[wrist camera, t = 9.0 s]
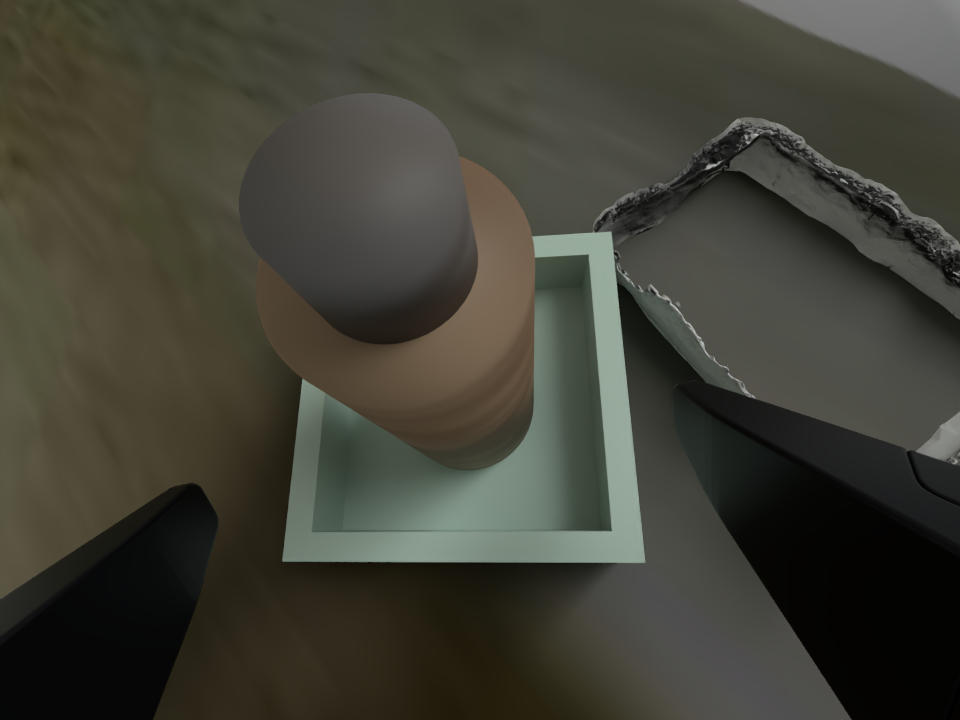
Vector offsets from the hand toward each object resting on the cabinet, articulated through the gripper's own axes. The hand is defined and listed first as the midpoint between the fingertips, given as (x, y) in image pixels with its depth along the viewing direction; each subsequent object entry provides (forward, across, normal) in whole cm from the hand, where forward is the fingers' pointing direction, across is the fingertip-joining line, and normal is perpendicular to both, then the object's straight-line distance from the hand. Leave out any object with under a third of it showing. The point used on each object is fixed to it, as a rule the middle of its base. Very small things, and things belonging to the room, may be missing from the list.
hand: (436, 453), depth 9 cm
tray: (+8, 0, +4) cm, 9 cm away
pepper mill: (+8, 0, +4) cm, 8 cm away
